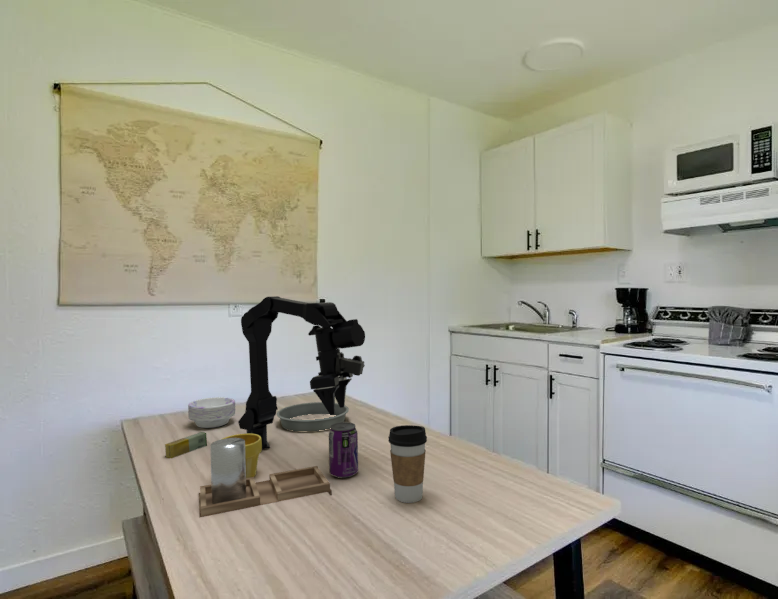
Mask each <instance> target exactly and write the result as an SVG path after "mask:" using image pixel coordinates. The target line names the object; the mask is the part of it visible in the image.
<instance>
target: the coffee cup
mask: <svg viewBox="0 0 778 599" xmlns="http://www.w3.org/2000/svg"><path fill="white" fill-rule="evenodd" d="M427 438H428V437H427V432H426V428H425V427H424V426H422V425H397V426H393V427H392V428H390V429H389V434H388V443H389V444H390V451H389V453H390V461H391V462H390V463H391V471H392V479H393V485H394V488H393V489H394V496H395V499H396V500H397V501H399V502H400V503H401V502H402V503H405V504H406V503H407V504H408V503H409V504H410V503H411V504H413V503H417V502H419V501H421V499H422V498H423V492H424V491H423V490H424V476H425V463H426V449H425V448H426V443H427V441H428V439H427Z"/></svg>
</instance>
